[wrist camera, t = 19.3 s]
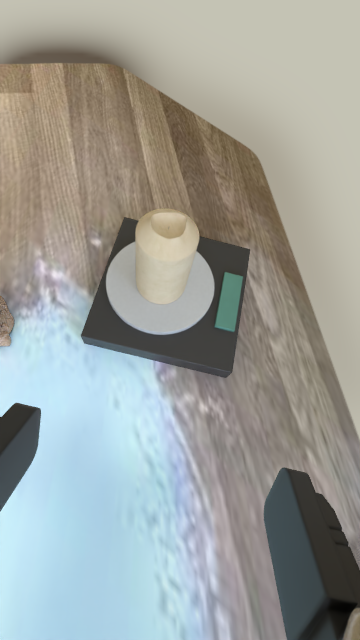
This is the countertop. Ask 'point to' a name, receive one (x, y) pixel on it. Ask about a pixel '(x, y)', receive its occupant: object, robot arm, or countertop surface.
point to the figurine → (5, 324)
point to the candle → (164, 254)
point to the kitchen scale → (172, 308)
